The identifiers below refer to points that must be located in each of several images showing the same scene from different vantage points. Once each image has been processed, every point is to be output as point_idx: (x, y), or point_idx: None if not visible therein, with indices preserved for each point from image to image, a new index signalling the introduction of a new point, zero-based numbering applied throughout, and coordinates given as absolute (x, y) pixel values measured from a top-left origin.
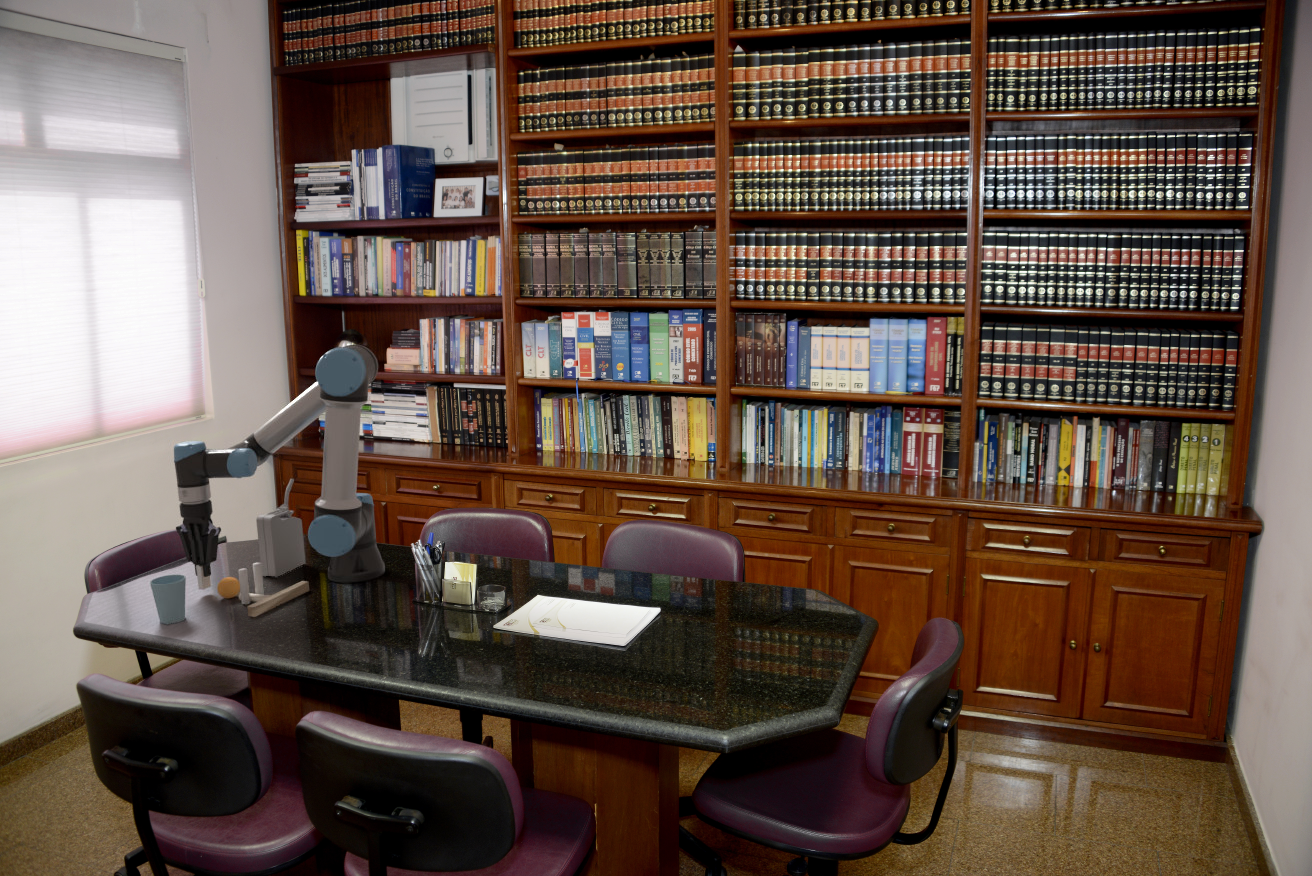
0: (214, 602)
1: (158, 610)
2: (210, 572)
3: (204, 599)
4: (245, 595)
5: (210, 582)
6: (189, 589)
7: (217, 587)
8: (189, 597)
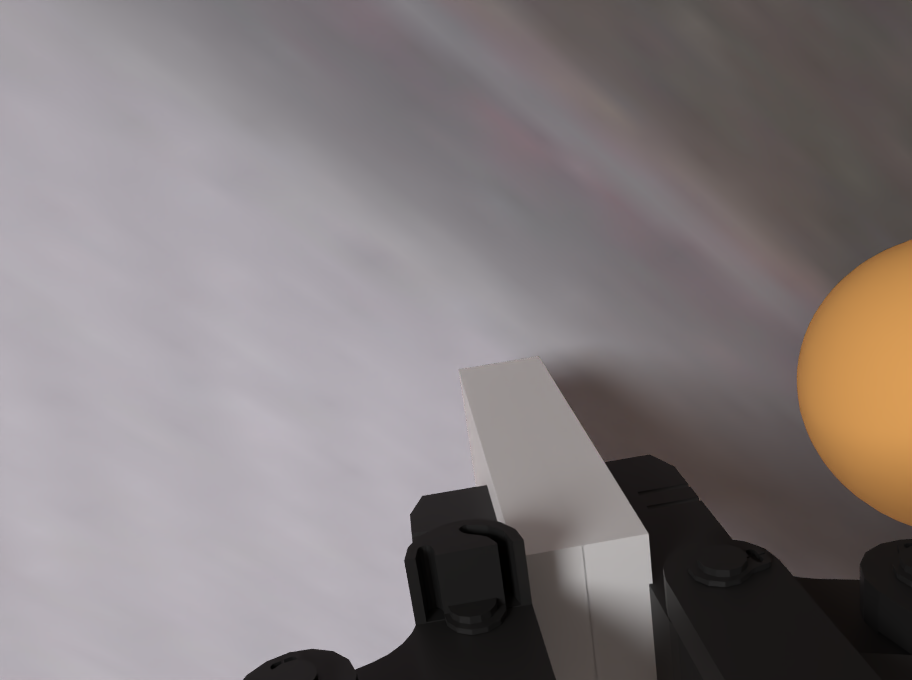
0: (816, 515)
1: None
2: (684, 490)
3: None
4: None
5: (553, 380)
6: (85, 347)
7: (878, 509)
8: (388, 534)
